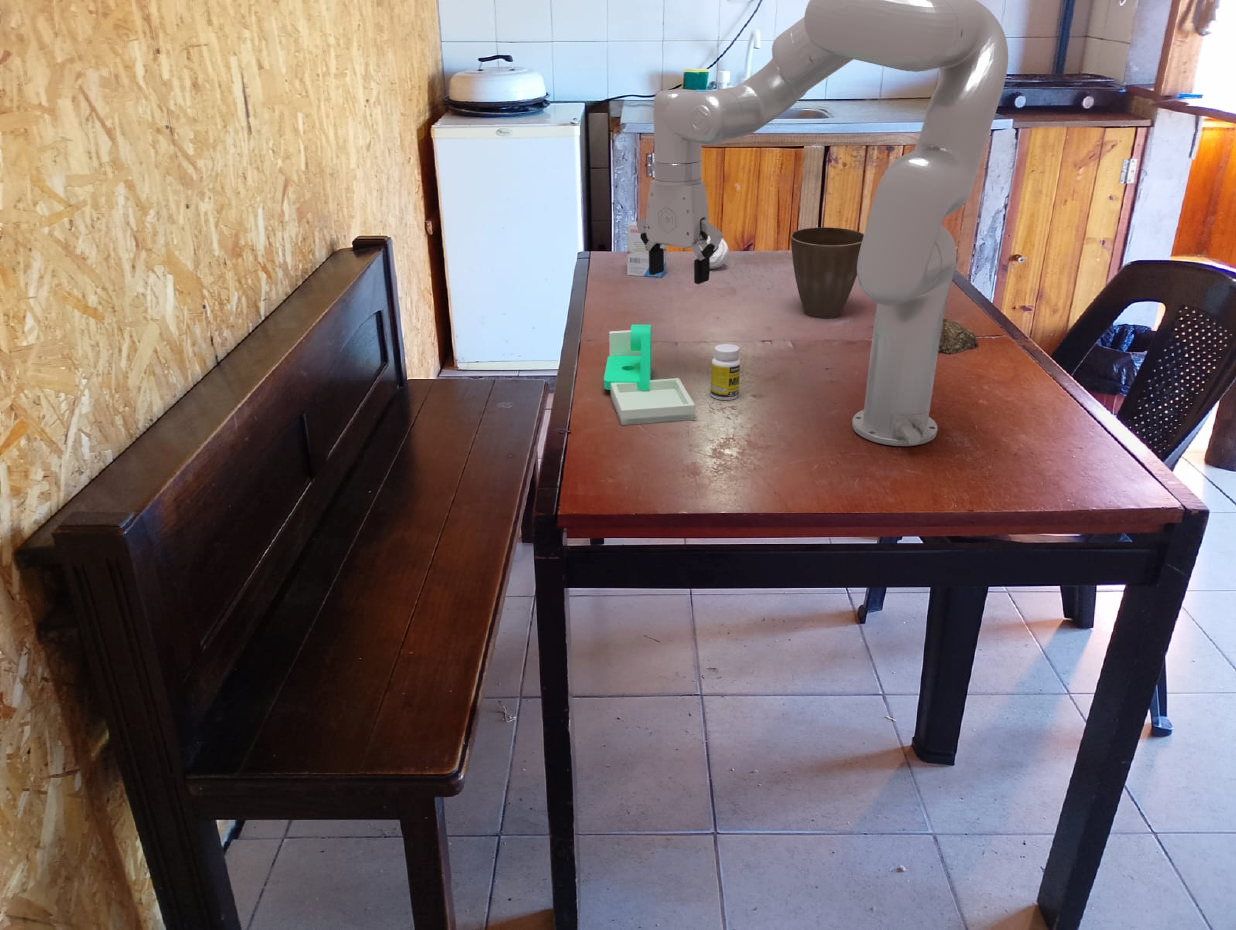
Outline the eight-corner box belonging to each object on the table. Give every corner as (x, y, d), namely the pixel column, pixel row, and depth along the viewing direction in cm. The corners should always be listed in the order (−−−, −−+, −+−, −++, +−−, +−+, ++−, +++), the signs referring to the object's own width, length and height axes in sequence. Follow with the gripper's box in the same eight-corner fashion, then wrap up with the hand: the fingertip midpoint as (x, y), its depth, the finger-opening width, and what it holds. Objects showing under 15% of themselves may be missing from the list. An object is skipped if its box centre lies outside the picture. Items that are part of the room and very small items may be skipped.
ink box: (667, 272, 229) (667, 222, 223) (661, 278, 224) (662, 226, 219) (632, 269, 231) (632, 219, 226) (626, 275, 227) (626, 224, 221)
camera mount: (608, 369, 172) (607, 313, 167) (651, 369, 172) (651, 314, 167) (603, 395, 161) (602, 337, 157) (649, 396, 161) (649, 337, 156)
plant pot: (839, 329, 191) (847, 248, 183) (772, 315, 199) (777, 238, 191) (870, 310, 201) (879, 233, 194) (806, 298, 209) (812, 223, 202)
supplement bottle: (730, 403, 158) (733, 354, 155) (705, 397, 161) (706, 349, 157) (743, 393, 162) (746, 345, 158) (718, 388, 164) (720, 341, 160)
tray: (694, 419, 153) (694, 405, 151) (621, 425, 151) (621, 410, 150) (678, 392, 163) (679, 378, 162) (610, 396, 161) (610, 382, 160)
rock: (931, 329, 191) (935, 304, 189) (985, 346, 182) (990, 320, 180) (888, 342, 184) (891, 317, 182) (942, 360, 176) (946, 334, 173)
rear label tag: (643, 368, 173) (643, 331, 169) (610, 371, 172) (610, 333, 169) (642, 366, 174) (642, 329, 170) (609, 368, 173) (609, 331, 170)
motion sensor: (692, 271, 229) (693, 239, 225) (695, 263, 235) (696, 231, 232) (726, 273, 228) (728, 240, 224) (728, 264, 234) (730, 232, 231)
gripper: (622, 171, 158) (625, 274, 165) (706, 180, 147) (706, 290, 154) (652, 165, 163) (653, 265, 170) (735, 173, 152) (733, 280, 159)
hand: (678, 277), depth 162 cm, fingers open, 9 cm apart
